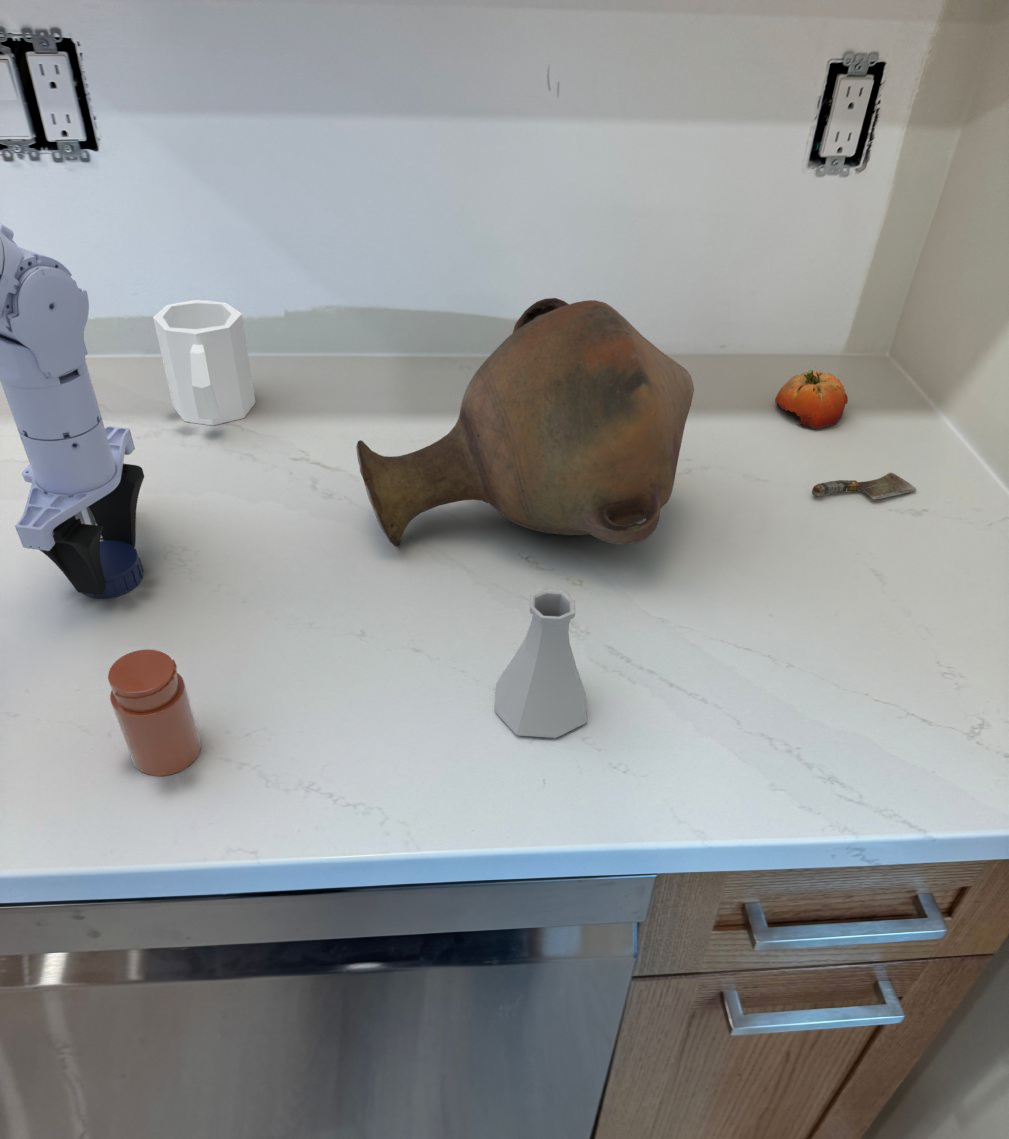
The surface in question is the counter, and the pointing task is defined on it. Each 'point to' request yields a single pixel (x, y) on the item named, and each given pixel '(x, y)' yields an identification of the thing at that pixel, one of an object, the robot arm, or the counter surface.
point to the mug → (205, 361)
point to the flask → (543, 674)
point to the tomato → (814, 398)
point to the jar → (154, 712)
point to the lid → (119, 568)
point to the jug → (552, 432)
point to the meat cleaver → (866, 487)
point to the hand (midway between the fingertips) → (107, 569)
